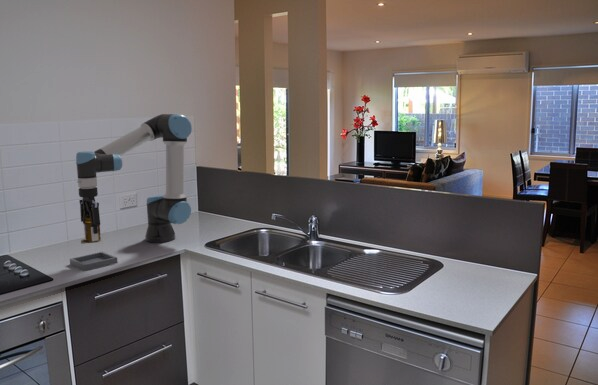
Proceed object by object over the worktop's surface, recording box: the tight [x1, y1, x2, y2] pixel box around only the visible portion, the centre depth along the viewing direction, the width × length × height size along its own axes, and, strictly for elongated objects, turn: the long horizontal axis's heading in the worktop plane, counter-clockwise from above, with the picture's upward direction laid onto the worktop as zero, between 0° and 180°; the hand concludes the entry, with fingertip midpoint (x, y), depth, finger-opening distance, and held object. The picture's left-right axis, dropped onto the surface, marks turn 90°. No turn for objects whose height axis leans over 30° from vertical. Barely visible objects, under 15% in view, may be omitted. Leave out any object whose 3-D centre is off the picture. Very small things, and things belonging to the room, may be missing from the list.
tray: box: [69, 251, 118, 272], centre depth 225 cm, size 15×14×2 cm
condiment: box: [80, 214, 103, 245], centre depth 223 cm, size 7×8×12 cm
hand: (91, 239), depth 223 cm, fingers closed on condiment, 6 cm apart
